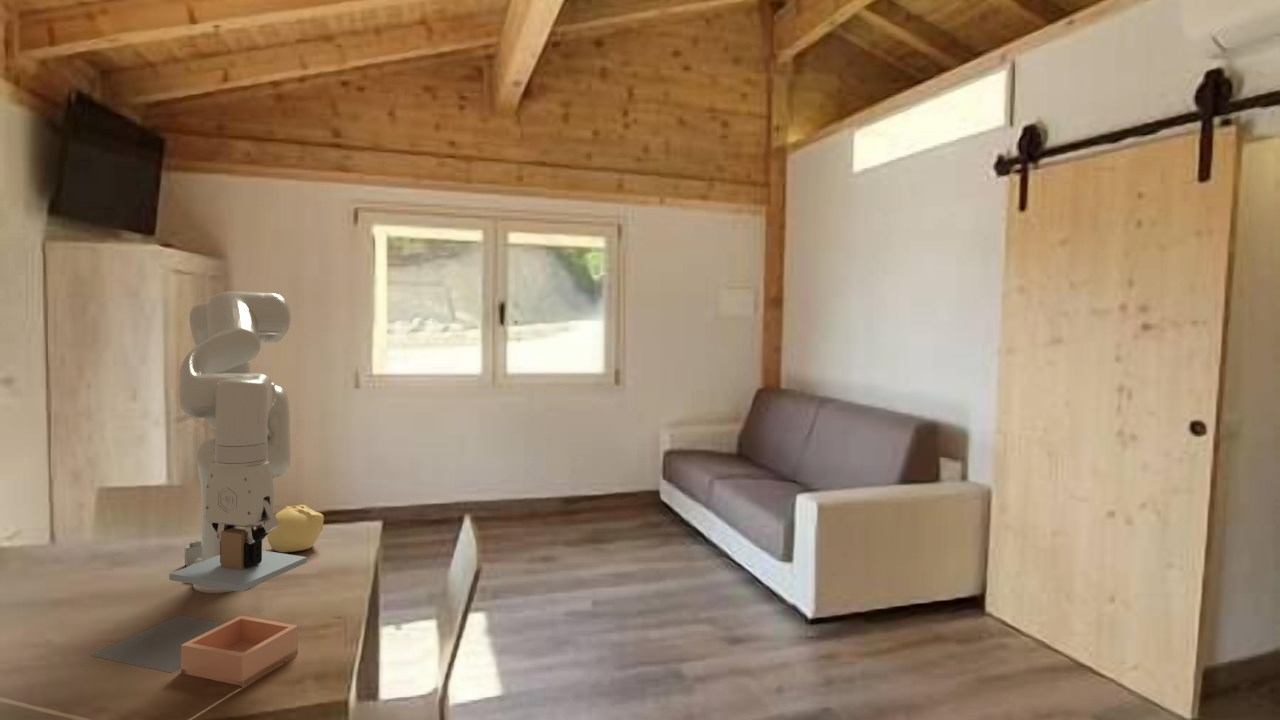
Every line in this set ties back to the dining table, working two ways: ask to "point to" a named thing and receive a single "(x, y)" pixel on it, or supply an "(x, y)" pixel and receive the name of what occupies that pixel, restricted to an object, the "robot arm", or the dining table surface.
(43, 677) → the dining table surface
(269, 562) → the lid
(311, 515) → the sculpture
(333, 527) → the dining table surface
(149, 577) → the dining table surface
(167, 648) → the mat
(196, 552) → the lighter
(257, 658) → the peach open tray
